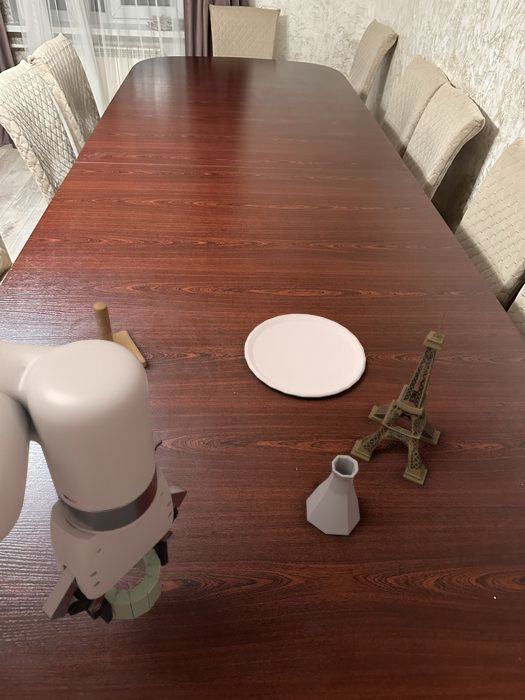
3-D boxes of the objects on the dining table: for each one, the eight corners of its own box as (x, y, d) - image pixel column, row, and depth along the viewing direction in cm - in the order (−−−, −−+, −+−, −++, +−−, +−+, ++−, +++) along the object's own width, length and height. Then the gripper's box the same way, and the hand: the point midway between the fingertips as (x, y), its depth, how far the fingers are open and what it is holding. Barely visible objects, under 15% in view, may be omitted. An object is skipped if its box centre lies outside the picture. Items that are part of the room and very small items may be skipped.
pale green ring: (110, 632, 50) (106, 617, 47) (88, 574, 54) (83, 558, 51) (172, 597, 53) (170, 582, 50) (147, 545, 56) (144, 528, 54)
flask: (353, 545, 65) (369, 501, 58) (298, 524, 66) (307, 480, 60) (365, 497, 70) (381, 452, 63) (313, 479, 71) (323, 433, 65)
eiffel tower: (373, 406, 82) (413, 273, 65) (439, 433, 79) (500, 301, 62) (350, 454, 75) (388, 319, 58) (421, 485, 72) (484, 352, 55)
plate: (381, 395, 84) (383, 390, 83) (253, 406, 81) (254, 401, 80) (345, 315, 99) (346, 309, 98) (236, 321, 96) (236, 316, 95)
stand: (92, 385, 82) (80, 331, 74) (74, 351, 87) (61, 297, 80) (146, 366, 86) (139, 313, 78) (126, 334, 91) (118, 282, 84)
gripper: (156, 396, 48) (165, 503, 59) (-25, 530, 37) (30, 627, 49) (218, 439, 44) (214, 543, 56) (40, 600, 34) (82, 686, 46)
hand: (129, 581), depth 52 cm, fingers closed on pale green ring, 6 cm apart
